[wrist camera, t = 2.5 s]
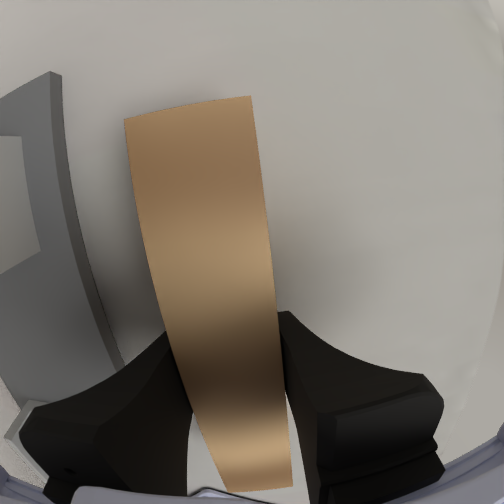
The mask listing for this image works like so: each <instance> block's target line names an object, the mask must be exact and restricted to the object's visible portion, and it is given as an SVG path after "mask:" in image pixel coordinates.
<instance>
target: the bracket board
mask: <svg viewBox="0 0 504 504" xmlns="http://www.w3.org/2000/svg"><path fill="white" fill-rule="evenodd" d="M124 367H125V365H124V363H123V360H122V358H121V356H120V353H119V351H118V348H117V346H116V343H115V341H114V338H113V335H112V333H111V330H110V327H109V325H108V322H107V319H106V316H105V313H104V311H103V308H102V305H101V302H100V299H99V296H98V292H97V289H96V286H95V283H94V279H93V276H92V273H91V269H90V266H89V262H88V258H87V255H86V251H85V247H84V243H83V239H82V235H81V230H80V226H79V222H78V217H77V212H76V207H75V202H74V197H73V191H72V186H71V179H70V173H69V166H68V159H67V151H66V143H65V133H64V121H63V106H62V76H61V75H58V74H56V73H53V72H51V71H49V72H47V73H45V74H43V75H41V76H39V77H37V78H35V79H33V80H32V81H30V82H28V83H26V84H24V85H22V86H21V87H19V88H17V89H16V90H14V91H12V92H10V93H9V94H7V95H6V96H4V97H2V98H1V99H0V376H1V378H2V380H3V381H4V383H5V385H6V387H7V388H8V390H9V391H10V393H11V395H12V396H13V398H14V399H15V401H16V403H17V404H18V406H19V407H20V409H21V411H20V413H19V414H18V416H17V417H16V419H15V420H14V422H13V423H12V425H11V426H10V428H9V430H8V431H7V433H6V434H5V436H4V437H3V438H4V439H5V440H6V442H7V443H8V444H9V445H10V447H11V448H12V449H13V450H14V451H15V452H16V454H17V455H18V456H19V457H20V458H21V459H22V460H23V461H24V462H25V464H26V465H27V466H28V467H29V468H30V469H31V470H32V471H33V472H34V473H35V474H36V475H37V476H38V477H39V478H40V479H41V480H42V481H43V482H44V483H45V484H46V483H47V480H48V478H49V476H48V475H47V474H46V473H45V471H44V470H43V469H42V468H41V467H40V466H39V465H38V464H37V463H36V462H35V461H34V460H33V458H32V457H31V456H30V455H29V454H28V453H27V451H26V450H25V449H24V447H23V445H22V443H21V441H20V439H19V431H20V429H21V428H22V426H23V424H24V423H25V421H26V420H27V418H28V416H29V415H30V413H31V412H32V410H33V408H34V407H37V406H42V405H45V404H49V403H52V402H56V401H59V400H62V399H65V398H68V397H70V396H73V395H75V394H78V393H80V392H82V391H85V390H87V389H89V388H91V387H92V386H94V385H96V384H98V383H100V382H102V381H104V380H105V379H107V378H109V377H110V376H112V375H113V374H115V373H116V372H118V371H119V370H121V369H122V368H124Z"/></svg>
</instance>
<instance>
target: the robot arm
mask: <svg viewBox="0 0 504 504" xmlns="http://www.w3.org/2000/svg"><path fill="white" fill-rule="evenodd" d="M277 314H278V324H279V334H280V344H281V354H282V364H283V374H284V385H285V392H286V395H287V398H288V401H289V404H290V407H291V411H292V414H293V417H294V420H295V424H296V428H297V433H298V438H299V443H300V448H301V454H302V459H303V465H304V470H305V476H306V482H307V488H308V494H309V500H310V504H504V423H503V424H502V426H501V427H500V429H499V431H498V433H497V435H496V436H495V437H493V438H492V439H490V440H488V441H487V442H485V443H483V444H482V445H480V446H478V447H477V448H475V449H473V450H471V451H470V452H468V453H466V454H464V455H462V456H461V457H459V458H457V459H455V460H453V461H451V462H449V463H447V464H445V465H443V464H442V463H441V461H440V459H439V457H438V455H437V454H436V452H435V451H436V450H437V448H438V445H437V443H436V441H435V440H434V438H433V435H434V433H435V431H436V428H437V426H438V424H439V421H440V419H441V416H442V413H443V409H444V401H443V398H442V397H441V396H440V394H439V393H438V392H437V390H436V389H435V387H434V386H433V385H432V383H431V382H430V381H429V380H428V379H427V378H426V377H425V376H424V375H423V374H419V373H411V372H404V371H397V370H393V369H389V368H384V367H380V366H377V365H374V364H370V363H367V362H365V361H362V360H360V359H357V358H354V357H352V356H350V355H348V354H346V353H344V352H342V351H340V350H338V349H336V348H334V347H333V346H331V345H329V344H328V343H326V342H325V341H323V340H322V339H320V338H319V337H318V336H316V335H315V334H314V333H313V332H311V331H310V330H309V329H308V328H307V327H305V326H304V325H303V324H302V323H301V322H300V321H299V320H298V319H297V318H296V317H295V316H294V315H293V314H292V313H291V312H289V311H283V312H277ZM192 414H193V409H192V407H191V404H190V401H189V398H188V396H187V393H186V390H185V387H184V384H183V382H182V379H181V376H180V373H179V370H178V367H177V364H176V361H175V358H174V355H173V351H172V348H171V345H170V342H169V338H168V335H167V332H166V331H165V332H164V333H163V334H162V335H161V336H159V337H158V338H157V339H156V340H155V341H154V342H153V343H152V344H151V345H150V346H149V347H148V348H147V349H145V350H144V351H143V352H142V353H141V354H140V355H138V356H137V357H136V358H135V359H134V360H132V361H131V362H130V363H129V364H128V365H126V366H125V367H124V368H122V369H121V370H119V371H118V372H116V373H115V374H113V375H112V376H110V377H109V378H107V379H105V380H104V381H102V382H100V383H98V384H96V385H94V386H92V387H91V388H89V389H87V390H85V391H82V392H80V393H78V394H75V395H73V396H70V397H68V398H65V399H62V400H59V401H56V402H52V403H49V404H45V405H42V406H37V407H34V408H33V410H32V412H31V413H30V415H29V416H28V418H27V420H26V421H25V423H24V424H23V426H22V428H21V429H20V431H19V439H20V441H21V443H22V445H23V447H24V449H25V450H26V451H27V453H28V454H29V455H30V456H31V457H32V458H33V460H34V461H35V462H36V463H37V464H38V465H39V466H40V467H41V468H42V469H43V470H44V471H45V473H46V474H47V475H48V476H49V478H48V480H47V483H46V485H45V487H44V489H42V488H40V487H37V486H34V485H32V484H29V483H27V482H24V481H22V480H20V479H17V478H15V477H13V476H10V475H9V474H8V473H7V471H6V470H5V469H4V468H3V467H2V466H1V465H0V504H265V503H260V502H255V501H251V500H247V499H243V498H239V497H235V496H232V495H228V494H224V493H221V492H218V491H214V490H211V489H205V490H203V491H201V492H199V493H197V494H195V495H194V496H192V497H187V452H188V437H189V430H190V424H191V419H192Z"/></svg>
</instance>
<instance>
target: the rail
mask: <svg viewBox="0 0 504 504" xmlns="http://www.w3.org/2000/svg"><path fill="white" fill-rule="evenodd" d="M124 124H125V133H126V142H127V149H128V157H129V164H130V171H131V177H132V183H133V189H134V195H135V201H136V207H137V212H138V217H139V222H140V227H141V232H142V237H143V242H144V246H145V251H146V255H147V260H148V264H149V268H150V272H151V276H152V280H153V284H154V288H155V292H156V296H157V300H158V304H159V307H160V311H161V314H162V318H163V322H164V325H165V328H166V332H167V335H168V338H169V342H170V345H171V348H172V351H173V355H174V358H175V361H176V364H177V367H178V370H179V373H180V376H181V379H182V382H183V384H184V387H185V390H186V393H187V396H188V398H189V401H190V404H191V407H192V409H193V412H194V415H195V417H196V420H197V422H198V425H199V427H200V430H201V432H202V435H203V437H204V440H205V442H206V444H207V447H208V449H209V452H210V454H211V456H212V458H213V461H214V463H215V465H216V468H217V470H218V472H219V474H220V476H221V478H222V481H223V483H224V485H225V487H226V489H227V491H228V493H231V492H248V491H259V490H269V489H277V488H285V487H292V486H293V480H292V467H291V454H290V442H289V430H288V418H287V407H286V396H285V385H284V374H283V364H282V354H281V344H280V334H279V324H278V314H277V305H276V295H275V286H274V277H273V268H272V259H271V251H270V242H269V233H268V225H267V216H266V208H265V200H264V192H263V184H262V176H261V168H260V160H259V152H258V145H257V137H256V130H255V122H254V115H253V108H252V100H251V96H243V97H235V98H228V99H221V100H214V101H208V102H202V103H196V104H190V105H185V106H180V107H175V108H170V109H165V110H161V111H156V112H152V113H148V114H144V115H140V116H136V117H132V118H128V119H124Z"/></svg>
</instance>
